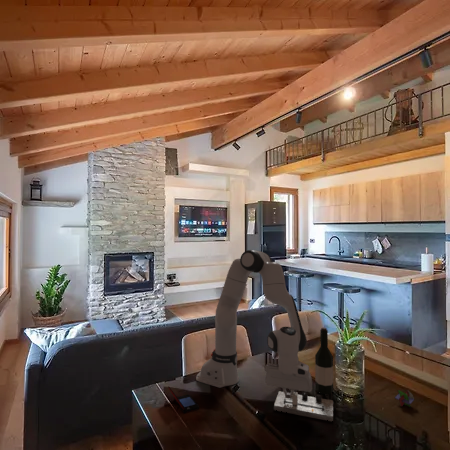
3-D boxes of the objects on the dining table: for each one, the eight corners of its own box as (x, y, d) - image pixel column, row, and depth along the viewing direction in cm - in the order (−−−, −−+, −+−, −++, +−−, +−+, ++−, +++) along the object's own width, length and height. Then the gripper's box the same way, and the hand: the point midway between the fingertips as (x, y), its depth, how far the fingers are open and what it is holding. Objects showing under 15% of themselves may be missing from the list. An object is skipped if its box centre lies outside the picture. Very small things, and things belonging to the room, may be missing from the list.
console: (274, 410, 132) (274, 400, 132) (279, 395, 144) (279, 386, 145) (333, 421, 124) (332, 411, 124) (333, 405, 136) (332, 395, 137)
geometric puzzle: (404, 407, 131) (411, 390, 133) (389, 400, 137) (396, 383, 140) (412, 414, 133) (419, 397, 136) (397, 406, 140) (404, 390, 142)
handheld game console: (200, 409, 133) (200, 392, 133) (176, 416, 127) (176, 398, 128) (189, 396, 144) (189, 380, 144) (167, 402, 139) (167, 385, 139)
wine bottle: (334, 395, 145) (334, 331, 146) (316, 393, 146) (315, 330, 148) (332, 387, 153) (331, 326, 154) (314, 385, 154) (314, 325, 156)
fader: (292, 404, 133) (292, 394, 133) (293, 400, 135) (293, 391, 136) (296, 405, 132) (296, 395, 132) (297, 401, 135) (297, 392, 135)
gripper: (263, 365, 136) (263, 397, 135) (311, 372, 129) (311, 405, 128) (266, 359, 142) (266, 390, 141) (312, 366, 135) (312, 398, 134)
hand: (288, 397), depth 135 cm, fingers closed
